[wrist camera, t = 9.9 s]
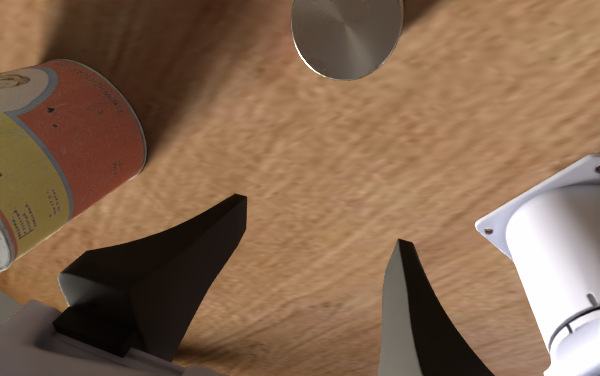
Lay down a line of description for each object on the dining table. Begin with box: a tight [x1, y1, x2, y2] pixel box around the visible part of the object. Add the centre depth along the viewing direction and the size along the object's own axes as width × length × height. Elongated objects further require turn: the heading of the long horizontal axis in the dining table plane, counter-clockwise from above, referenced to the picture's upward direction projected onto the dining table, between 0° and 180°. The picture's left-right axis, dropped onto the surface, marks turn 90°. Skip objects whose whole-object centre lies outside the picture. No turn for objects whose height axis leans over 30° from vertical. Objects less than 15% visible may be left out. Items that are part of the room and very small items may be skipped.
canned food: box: [0, 59, 147, 272], centre depth 23 cm, size 11×11×12 cm
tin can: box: [291, 0, 405, 81], centre depth 15 cm, size 5×5×6 cm
